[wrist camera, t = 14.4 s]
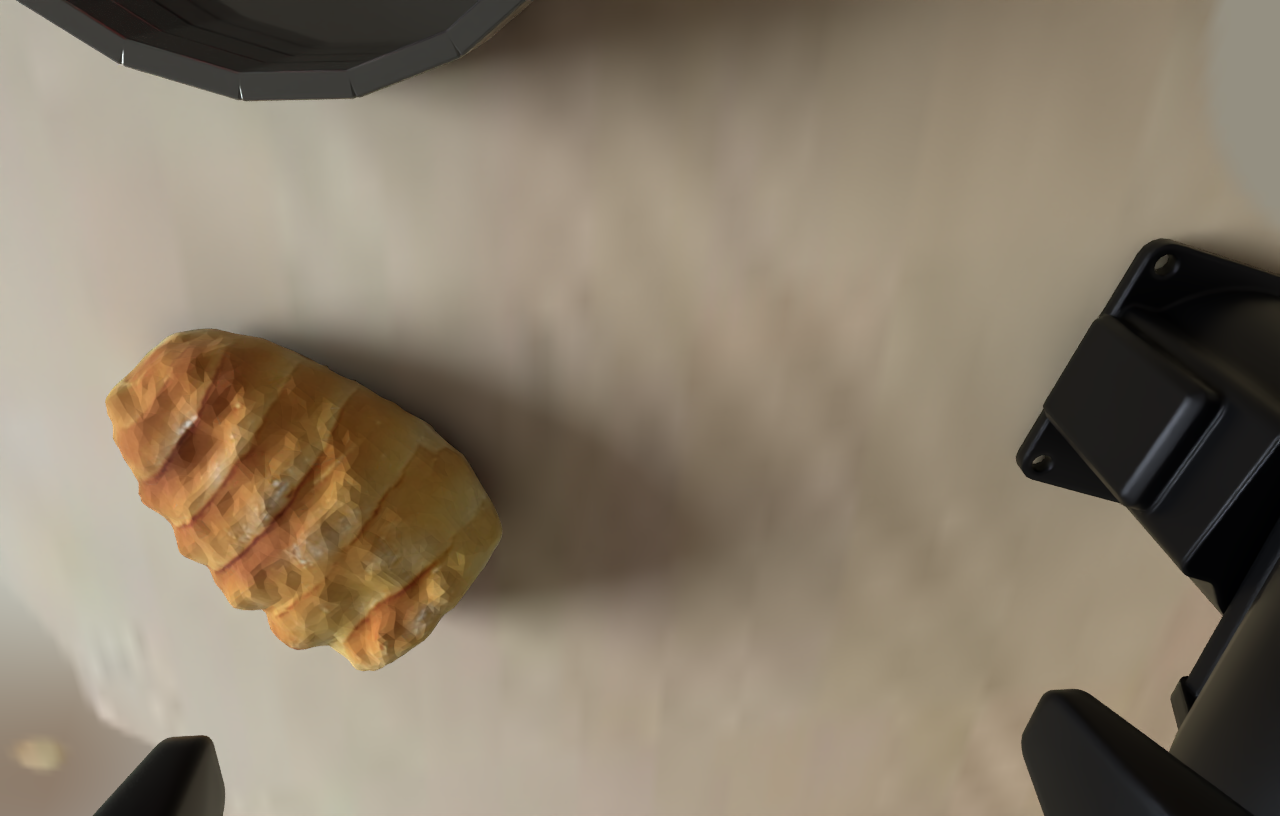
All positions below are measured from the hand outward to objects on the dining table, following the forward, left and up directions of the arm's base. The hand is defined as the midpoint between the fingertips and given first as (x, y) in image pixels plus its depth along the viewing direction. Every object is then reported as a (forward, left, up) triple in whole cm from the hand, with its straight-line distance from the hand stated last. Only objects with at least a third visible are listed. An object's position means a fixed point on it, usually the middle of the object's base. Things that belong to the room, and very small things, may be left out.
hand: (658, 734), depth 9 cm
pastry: (+6, +7, -13) cm, 16 cm away
